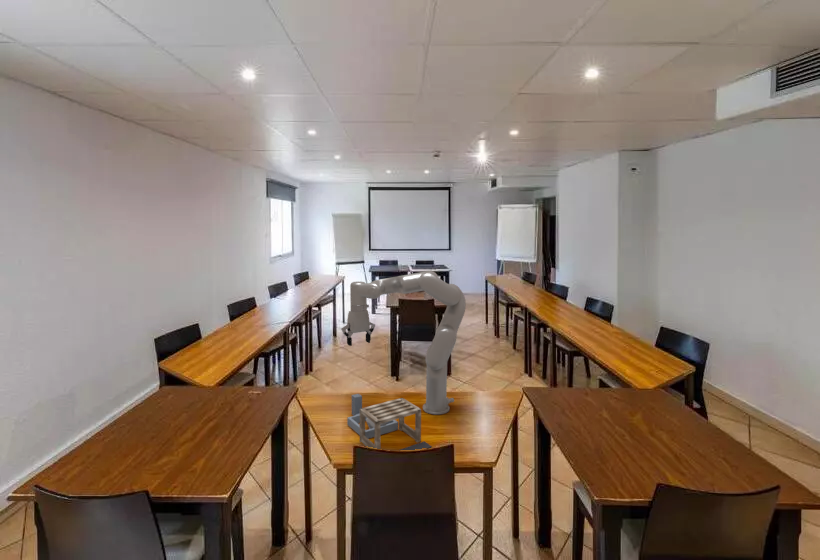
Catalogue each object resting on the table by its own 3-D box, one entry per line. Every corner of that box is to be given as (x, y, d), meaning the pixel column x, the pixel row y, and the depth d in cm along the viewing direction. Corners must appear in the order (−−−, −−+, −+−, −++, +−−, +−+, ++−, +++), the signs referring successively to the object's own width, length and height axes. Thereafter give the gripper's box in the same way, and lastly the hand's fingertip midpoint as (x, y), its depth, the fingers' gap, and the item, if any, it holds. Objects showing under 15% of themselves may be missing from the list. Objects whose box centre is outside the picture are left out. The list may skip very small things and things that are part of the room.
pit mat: (424, 442, 168) (424, 441, 168) (431, 447, 164) (431, 446, 164) (399, 450, 161) (399, 449, 161) (406, 456, 157) (406, 455, 157)
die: (375, 438, 172) (390, 417, 173) (359, 424, 175) (373, 404, 176) (380, 436, 180) (394, 416, 181) (364, 423, 183) (378, 403, 184)
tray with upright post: (370, 409, 198) (370, 390, 197) (398, 429, 178) (398, 409, 177) (339, 417, 189) (338, 398, 188) (364, 439, 169) (364, 418, 168)
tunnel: (402, 428, 180) (402, 397, 178) (420, 441, 169) (421, 409, 167) (359, 441, 168) (359, 408, 167) (376, 456, 157) (376, 421, 156)
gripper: (370, 305, 205) (371, 339, 207) (338, 308, 196) (338, 344, 198) (378, 307, 199) (378, 342, 201) (345, 311, 189) (345, 348, 191)
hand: (358, 343), depth 199 cm, fingers open, 9 cm apart
